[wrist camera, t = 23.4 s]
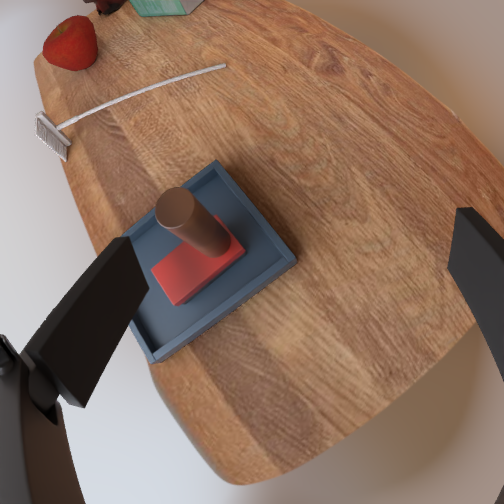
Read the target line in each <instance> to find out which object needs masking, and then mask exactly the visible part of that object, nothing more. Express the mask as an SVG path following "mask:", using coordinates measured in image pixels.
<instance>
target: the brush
mask: <svg viewBox="0 0 504 504" xmlns="http://www.w3.org/2000/svg"><path fill="white" fill-rule="evenodd" d="M224 67H226V65H225V63H223V64H219V65H216V66H212V67H208V68H204V69H201V70H197V71H194V72H190V73H187V74H184V75H180V76H177V77H174V78H171V79H168V80H165V81H162V82H159V83H156V84H153V85H150V86H147V87H145V88H142V89H139V90H137V91H134V92H131V93H129V94H126V95H124V96H121V97H119V98H116V99H114V100H111V101H109V102H107V103H104V104H102V105H100V106H97V107H95V108H93V109H91V110H89V111H86V112H84V113H82V114H80V115H78V116H75V117H72V118H70V119H68V120H66V121H64V122H62V123H61V124H59V125H57V126H56V125H55V123H54V122H53V121H52V120H51V119H50V118H49V117H48V116H47V115H46V114H45V113H44V112H43V111H41V112H39V113H37V114H36V119H35V120H36V122H35V135H37V137H39V139H40V138H41V141H42V140H43V142H44V143H45V144H46V145H48V147H50V148H52V150H53V151H54V152H55V153H57V155H59V156H60V158H61V157H62V159H63V160H65V162H66V161H67V150H66V148H67V146H69V145H72V141H71V140H70V139H69V138H68V137H67V136H66V135H65V134H64V133H63V132H62V131H61V130H60V129H62V128H64V127H66V126H68V125H70V124H72V123H74V122H76V121H79V119H81V118H83V117H85V116H87V115H89V114H91V113H94V112H96V111H98V110H100V109H103V108H105V107H107V106H110V105H112V104H115V103H117V102H119V101H122V100H124V99H127V98H129V97H132V96H135V95H137V94H140V93H143V92H145V91H148V90H151V89H154V88H157V87H160V86H163V85H165V84H169V83H172V82H175V81H178V80H181V79H184V78H188V77H191V76H194V75H198V74H201V73H205V72H209V71H212V70H216V69H220V68H224Z"/></svg>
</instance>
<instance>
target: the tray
mask: <svg viewBox="0 0 504 504" xmlns="http://www.w3.org/2000/svg"><path fill="white" fill-rule="evenodd" d="M181 187H182V188H186V189H188V190H189V191H190V192H191V193H192V194H193V195H194V196H195V197H196V198H197V199H198V200H199V201H200V202H201V204H202V205H203V206H204V207H205V208H206V209H207V210H208V211H209V212H210V213H211V214H212V215H213V216H214V215H216V214H217V215H218V217H219V218H220V219H221V220H222V221H223V223H224V224H225V225H226V226H227V228H228V229H229V230H230V231H231V233H232V234H233V235H234V236H235V238H236V239H237V240H238V241H239V242H240V244H241V245H242V246H243V247H244V249H245V250H246V252H245V253H246V254H247V255H246V256H244V257H243V258H242V259H241V260H239V261H238V262H237V263H236V264H235V265H233V266H232V267H231V268H230V269H228V270H227V271H226V272H225V273H224V274H222V275H221V276H220V277H219V278H217V279H216V280H215V281H214V282H213V283H211V284H210V285H209V286H208V287H206V288H205V289H204V290H203V291H202V292H200V293H199V294H198V295H197V296H195V297H194V298H193V299H192V300H191V301H189V302H188V303H187V304H186V305H184V304H181V305H180V306H174V305H173V304H172V302H171V301H170V299H169V298H168V296H167V295H166V293H165V291H164V290H163V288H162V287H161V285H160V284H159V282H158V281H157V279H156V277H155V276H154V274H153V273H152V271H151V269H152V268H153V267H154V266H155V265H157V264H158V263H159V262H160V261H161V260H162V259H163V258H165V257H166V256H167V255H168V254H169V253H170V252H172V251H173V250H174V249H175V248H176V247H177V246H179V245H180V244H181V243H182V242H183V240H182V239H180V238H179V237H177V236H176V235H174V234H173V233H171V232H170V231H168V230H167V229H166V228H164V227H163V226H161V225H160V224H159V223H158V221H157V219H156V216H155V207H154V208H153V209H152V210H151V211H150V212H148V213H147V214H146V215H145V216H144V217H143V218H141V219H140V220H139V221H138V222H137V223H135V224H134V225H133V226H132V227H131V228H130V229H128V230H127V231H126V232H125V233H124V234H123V235H122V236H120V237H125V236H129V237H130V240H131V243H132V245H133V248H134V251H135V253H136V256H137V258H138V261H139V263H140V266H141V269H142V271H143V273H144V276H145V278H146V281H147V283H148V286H149V288H150V289H149V291H148V292H147V294H146V296H145V297H144V299H143V301H142V303H141V304H140V306H139V308H138V309H137V311H136V313H135V315H134V316H133V318H132V320H131V322H130V324H129V327H130V329H131V331H132V333H133V334H134V336H135V338H136V340H137V342H138V343H139V345H140V347H141V349H142V350H143V352H144V354H145V355H146V357H147V359H148V361H149V362H150V364H155V363H161V362H163V361H164V360H166V359H167V358H168V357H170V356H171V355H173V354H174V353H176V352H177V351H178V350H180V349H181V348H183V347H184V346H185V345H187V344H188V343H190V342H191V341H192V340H194V339H195V338H197V337H198V336H199V335H201V334H202V333H204V332H205V331H206V330H208V329H209V328H210V327H212V326H213V325H215V324H216V323H217V322H219V321H220V320H222V319H223V318H224V317H226V316H227V315H228V314H230V313H231V312H232V311H234V310H235V309H237V308H238V307H239V306H241V305H242V304H243V303H245V302H246V301H247V300H249V299H250V298H251V297H253V296H254V295H255V294H257V293H258V292H259V291H261V290H262V289H263V288H265V287H266V286H267V285H269V284H270V283H271V282H273V281H274V280H275V279H277V278H278V277H279V276H281V275H282V274H283V273H285V272H286V271H287V270H288V269H290V268H291V267H292V266H294V265H295V264H296V263H297V259H296V257H295V255H294V254H293V253H292V252H291V250H290V249H289V248H288V247H287V245H286V244H285V243H284V242H283V240H282V239H281V238H280V237H279V235H278V234H277V233H276V232H275V230H274V229H273V228H272V227H271V225H270V224H269V223H268V222H267V220H266V219H265V218H264V217H263V215H262V214H261V213H260V212H259V210H258V209H257V208H256V207H255V205H254V204H253V203H252V202H251V201H250V199H249V198H248V197H247V196H246V194H245V193H244V192H243V191H242V190H241V188H240V187H239V186H238V185H237V183H236V182H235V181H234V180H233V179H232V177H231V176H230V175H229V174H228V173H227V171H226V170H225V169H224V168H223V167H222V165H221V164H220V163H219V162H218V161H217V160H215V161H213V162H212V163H211V164H209V165H208V166H206V167H205V168H204V169H203V170H201V171H200V172H199V173H197V174H196V175H195V176H193V177H192V178H191V179H189V180H188V181H187V182H186V183H184V184H183V185H182V186H181Z"/></svg>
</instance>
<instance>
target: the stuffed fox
mask: <svg viewBox="0 0 504 504" xmlns="http://www.w3.org/2000/svg"><path fill="white" fill-rule="evenodd" d="M83 1H84V2H85V3H90V2H94V3H95V4H96V7H97V11H98V12H99V15H101V13H102V12H103V14H105V15H107V14H110V13H111V12H113V11H115V10H117V9H119V8H120V7H121V5H122V4H123V3H124V2H125V1H126V0H83Z"/></svg>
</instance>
